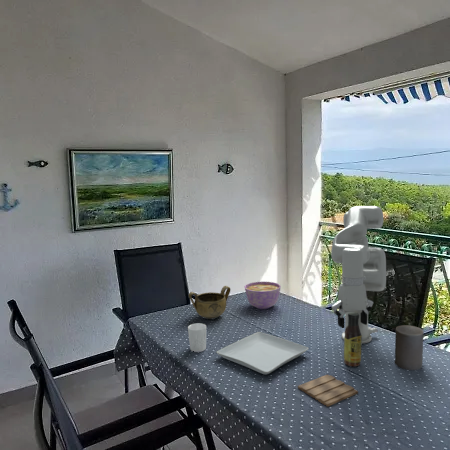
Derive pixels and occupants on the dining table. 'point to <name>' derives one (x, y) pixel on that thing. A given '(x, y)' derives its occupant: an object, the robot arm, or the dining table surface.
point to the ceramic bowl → (210, 303)
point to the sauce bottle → (352, 341)
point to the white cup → (197, 337)
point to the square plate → (262, 352)
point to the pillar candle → (409, 347)
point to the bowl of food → (262, 294)
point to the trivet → (328, 390)
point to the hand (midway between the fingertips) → (352, 325)
